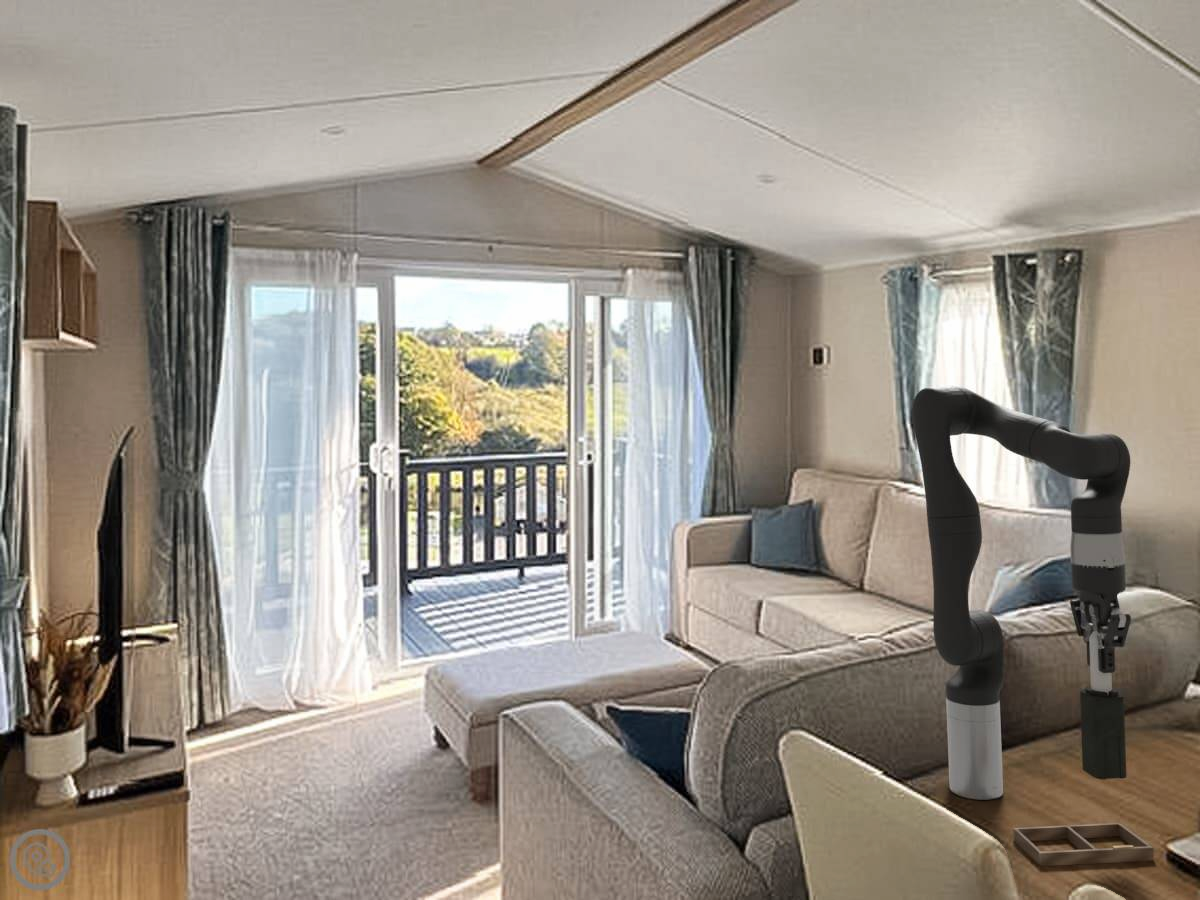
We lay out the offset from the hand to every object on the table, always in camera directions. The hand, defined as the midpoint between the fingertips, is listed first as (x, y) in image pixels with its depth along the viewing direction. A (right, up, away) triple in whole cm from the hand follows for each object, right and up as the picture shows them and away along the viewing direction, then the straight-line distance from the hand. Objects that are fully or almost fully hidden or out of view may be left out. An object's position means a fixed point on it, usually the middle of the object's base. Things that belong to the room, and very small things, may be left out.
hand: (1101, 668), depth 145 cm
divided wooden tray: (-3, -29, 0) cm, 29 cm away
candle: (+1, -17, 0) cm, 17 cm away
